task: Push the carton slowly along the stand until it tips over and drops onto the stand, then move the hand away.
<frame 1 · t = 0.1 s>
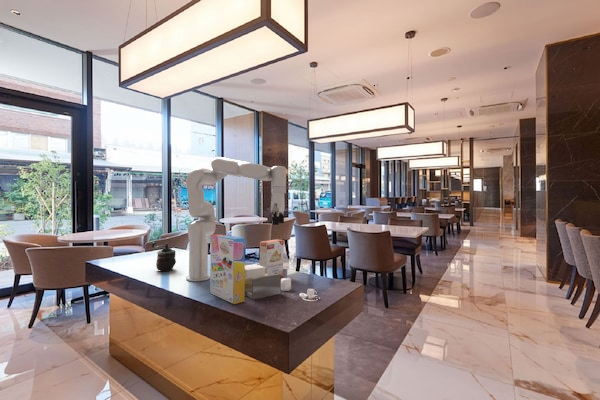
hand: (278, 223, 152), 31 cm above the table, tool pointing down, fingers open, 9 cm apart
cracker box: (271, 278, 164), on the table
coffee grinder: (163, 271, 178), on the table
stand: (256, 290, 141), on the table
white rounded block: (285, 289, 144), on the table
carton: (251, 275, 145), point 6 cm above the table, touching stand
game box: (226, 298, 131), on the table
teacup and saucer: (308, 297, 135), on the table
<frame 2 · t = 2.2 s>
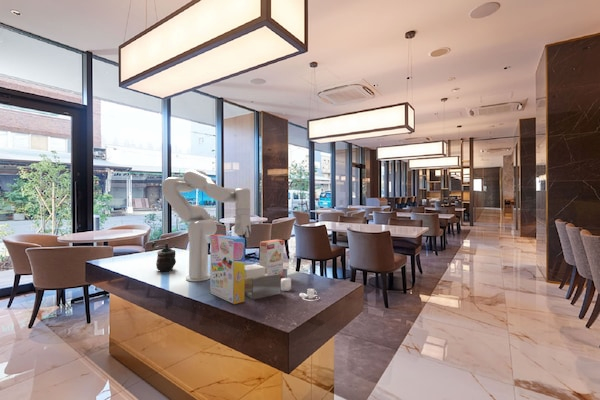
hand: (243, 247, 153), 19 cm above the table, tool pointing down, fingers closed
nothing on the table moved.
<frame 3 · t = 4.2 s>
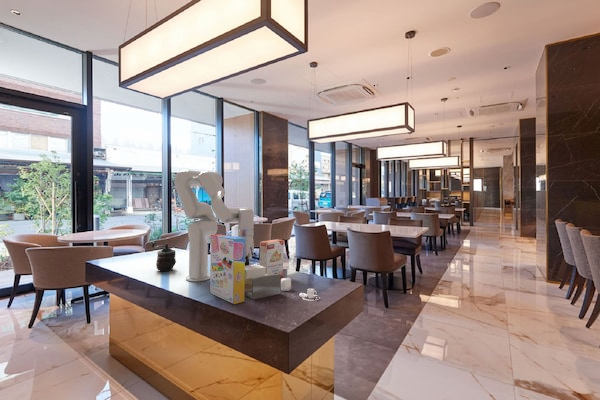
hand: (245, 269, 150), 8 cm above the table, tool pointing down, fingers closed
carton: (251, 275, 145), point 7 cm above the table, touching gripper
everything else where it was.
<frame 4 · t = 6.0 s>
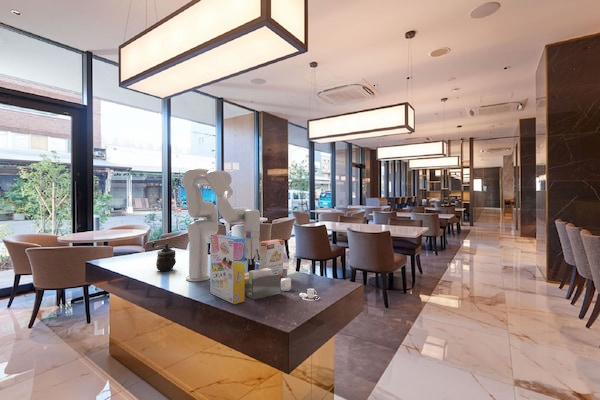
hand: (251, 272, 145), 8 cm above the table, tool pointing down, fingers closed
carton: (258, 278, 140), point 6 cm above the table, tilted 90°, touching stand
everything else where it was.
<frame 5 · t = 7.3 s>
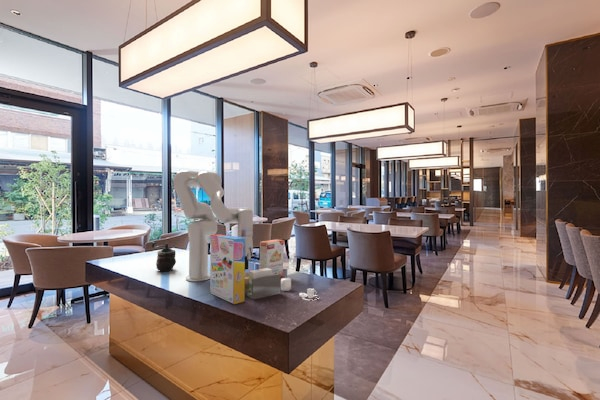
hand: (244, 269, 150), 8 cm above the table, tool pointing down, fingers closed
nothing on the table moved.
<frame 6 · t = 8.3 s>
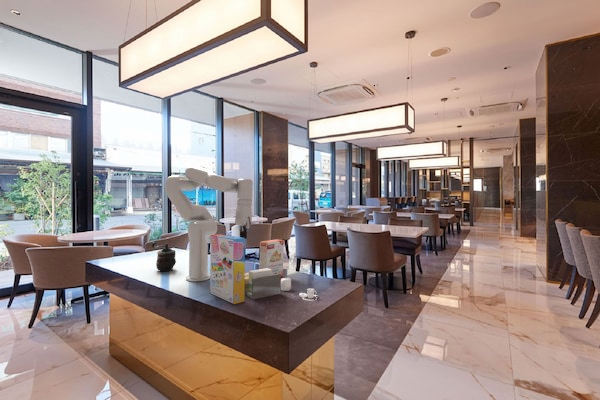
hand: (243, 238, 151), 23 cm above the table, tool pointing down, fingers closed
nothing on the table moved.
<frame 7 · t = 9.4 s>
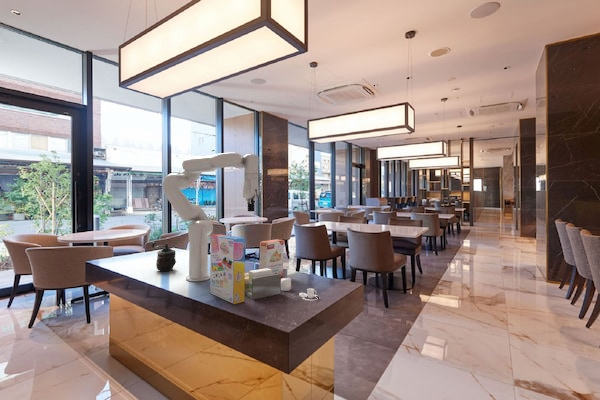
hand: (251, 211, 160), 37 cm above the table, tool pointing down, fingers closed
nothing on the table moved.
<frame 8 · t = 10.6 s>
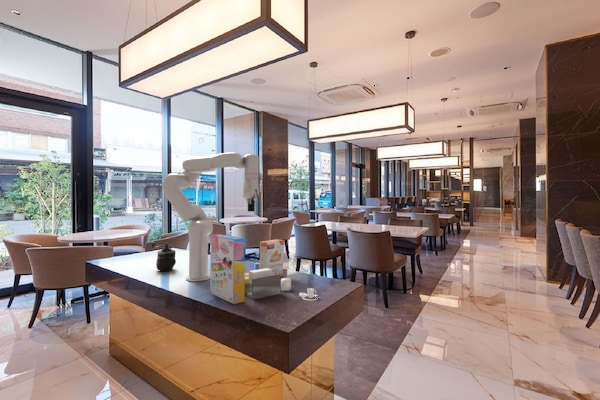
hand: (251, 211, 160), 37 cm above the table, tool pointing down, fingers closed
nothing on the table moved.
at the end: carton tilted 90°; carton inside the target area on the stand (2.2 cm from its centre), point 6.0 cm above the stand's base; carton touching stand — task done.
